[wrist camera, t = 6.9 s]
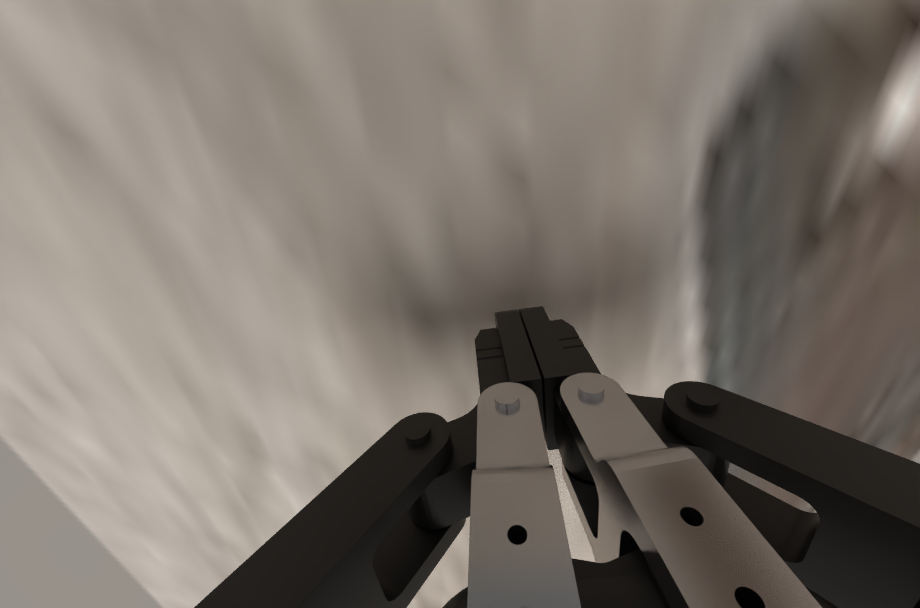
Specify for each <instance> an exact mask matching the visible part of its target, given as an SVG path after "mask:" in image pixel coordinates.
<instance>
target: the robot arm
mask: <svg viewBox="0 0 920 608" xmlns="http://www.w3.org/2000/svg"><path fill="white" fill-rule="evenodd" d="M495 322H496V328H492V329H484V330H480V332H479V333H478V335H477V337H476V339H475V346H476V356H477V366H478V376H479V385H480V396H479V399H478V403H477V405H476V406H475V407H474V408H473V409H472V410H471V411H470V412H469V413H468V414H466V415H464V416H462V417H460V418H458V419H455V420H453V421H450V422H446V420H445V419H444V418H443V417H441V416H439V415H437V414H434V413H426V412H424V413H417V414H413V415H410V416H408V417H405V418H404V419H402V420H400V421H399V422H398V423H397V424H396V425H394V426H393V427H392V428H391V429H390V430H389V431H388V432H387V433H386V434H385V435H383V436H382V437H381V438H380V439H379V440H378V441H377V442H376V443H375V444H374V445H372V446H371V447H370V448H369V449H368V450H367V451H366V452H365V453H364V454H363V455H361V456H360V457H359V458H358V459H357V460H356V461H355V462H354V463H353V464H352V465H350V466H349V467H348V468H347V469H346V470H345V471H344V472H343V473H342V474H341V475H339V476H338V477H337V478H336V479H335V480H334V481H333V482H332V483H331V484H330V485H328V486H327V487H326V488H325V489H324V490H323V491H322V492H321V493H320V494H319V495H317V496H316V497H315V498H314V499H313V500H312V501H311V502H310V503H309V504H308V505H306V506H305V507H304V508H303V509H302V510H301V511H300V512H299V513H298V514H297V515H295V516H294V517H293V518H292V519H291V520H290V521H289V522H288V523H287V524H286V525H284V526H283V527H282V528H281V529H280V530H279V531H278V532H277V533H276V534H275V535H273V536H272V537H271V538H270V539H269V540H268V541H267V542H266V543H265V544H264V545H263V546H261V547H260V548H259V549H258V550H257V551H256V552H255V553H254V554H253V555H252V556H250V557H249V558H248V559H247V560H246V561H245V562H244V563H243V564H242V565H241V566H239V567H238V568H237V569H236V570H235V571H234V572H233V573H232V574H231V575H230V576H228V577H227V578H226V579H225V580H224V581H223V582H222V583H221V584H220V585H219V586H217V587H216V588H215V589H214V590H213V591H212V592H211V593H210V594H209V595H208V596H206V597H205V598H204V599H203V600H202V601H201V602H200V603H199V604H198V605H197V606H195V607H194V608H406V607H407V606H408V605H409V603H410V602H411V600H412V599H413V598H414V596H415V595H416V593H417V592H418V591H419V589H420V588H421V586H422V585H423V583H424V582H425V581H426V579H427V578H428V576H429V575H430V574H431V572H432V571H433V569H434V568H435V566H436V565H437V564H438V562H439V561H440V559H441V558H442V557H443V555H444V554H445V552H446V551H447V549H448V548H449V547H450V545H451V544H452V542H453V541H454V540H455V538H456V537H457V535H458V534H459V532H460V531H461V530H462V528H463V526H464V524H465V521H466V518H467V517H469V516H470V538H469V568H468V587H467V588H465V589H463V590H462V591H461V592H459V593H458V594H457V595H455V596H454V597H453V598H452V599H450V600H449V601H448V602H447V604H446V605H445V606H444V607H443V608H920V464H919V463H916V462H914V461H911V460H908V459H906V458H903V457H900V456H898V455H895V454H893V453H890V452H887V451H885V450H882V449H879V448H877V447H874V446H871V445H869V444H866V443H864V442H861V441H858V440H856V439H853V438H850V437H848V436H845V435H842V434H840V433H837V432H835V431H832V430H829V429H827V428H824V427H821V426H819V425H816V424H814V423H811V422H808V421H806V420H803V419H800V418H798V417H795V416H792V415H790V414H787V413H785V412H782V411H779V410H777V409H774V408H771V407H769V406H766V405H763V404H761V403H758V402H756V401H753V400H750V399H748V398H745V397H742V396H740V395H737V394H734V393H732V392H729V391H727V390H724V389H721V388H719V387H716V386H713V385H710V384H706V383H702V382H693V381H687V382H679V383H676V384H673V385H671V386H670V387H669V388H667V390H666V391H665V394H664V398H654V397H644V396H636V395H631V394H628V393H625V392H624V390H623V389H622V388H621V386H620V385H619V384H618V383H617V382H616V381H614V380H613V379H611V378H609V377H607V376H605V375H601V373H600V372H599V370H598V368H597V366H596V365H595V363H594V361H593V360H592V358H591V356H590V354H589V353H588V351H587V349H586V348H585V347H584V344H583V342H582V341H581V339H579V336H578V334H577V332H576V330H575V329H574V327H573V326H571V325H570V324H568V323H567V322H565V321H564V320H562V319H560V320H553V321H550V320H549V318H548V316H547V314H546V312H545V310H544V308H543V307H542V306H541V307H533V308H526V309H519V312H518V310H511V311H503V312H496V313H495ZM545 442H546V443H545ZM546 445H547V448H548V450H554V449H559V452H560V455H561V458H562V474H563V478H564V480H565V483H566V485H567V488H568V490H569V493H570V495H571V498H572V500H573V503H574V505H575V508H576V510H577V513H578V515H579V518H580V520H581V523H582V525H583V528H584V530H585V533H586V535H587V538H588V540H589V543H590V545H591V548H592V551H593V554H594V558H595V562H590V561H584V560H578V559H572V558H571V554H570V549H569V544H568V539H567V534H566V528H565V523H564V518H563V513H562V508H561V503H560V498H559V493H558V488H557V483H556V478H555V473H554V469H553V466H552V465H550V464H549V459H548V454H547V449H546ZM730 462H731V463H733V464H735V465H737V466H739V467H741V468H743V469H745V470H747V471H749V472H751V473H753V474H755V475H757V476H759V477H761V478H763V479H765V480H767V481H769V482H771V483H773V484H775V485H777V486H779V487H781V488H783V489H785V490H787V491H789V492H791V493H793V494H795V495H797V496H799V497H800V498H802V499H804V500H805V501H807V502H808V503H809V504H810V505H811V506H812V507H813V508H814V509H815V510H816V511H817V513H809V512H805V511H802V510H799V509H797V508H795V507H793V506H791V505H789V504H787V503H785V502H784V501H782V500H780V499H778V498H776V497H774V496H772V495H770V494H768V493H766V492H764V491H762V490H760V489H758V488H757V487H755V486H753V485H751V484H749V483H747V482H745V481H743V480H741V479H739V478H737V477H735V476H733V475H732V474H730V473H728V469H729V465H730Z"/></svg>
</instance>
